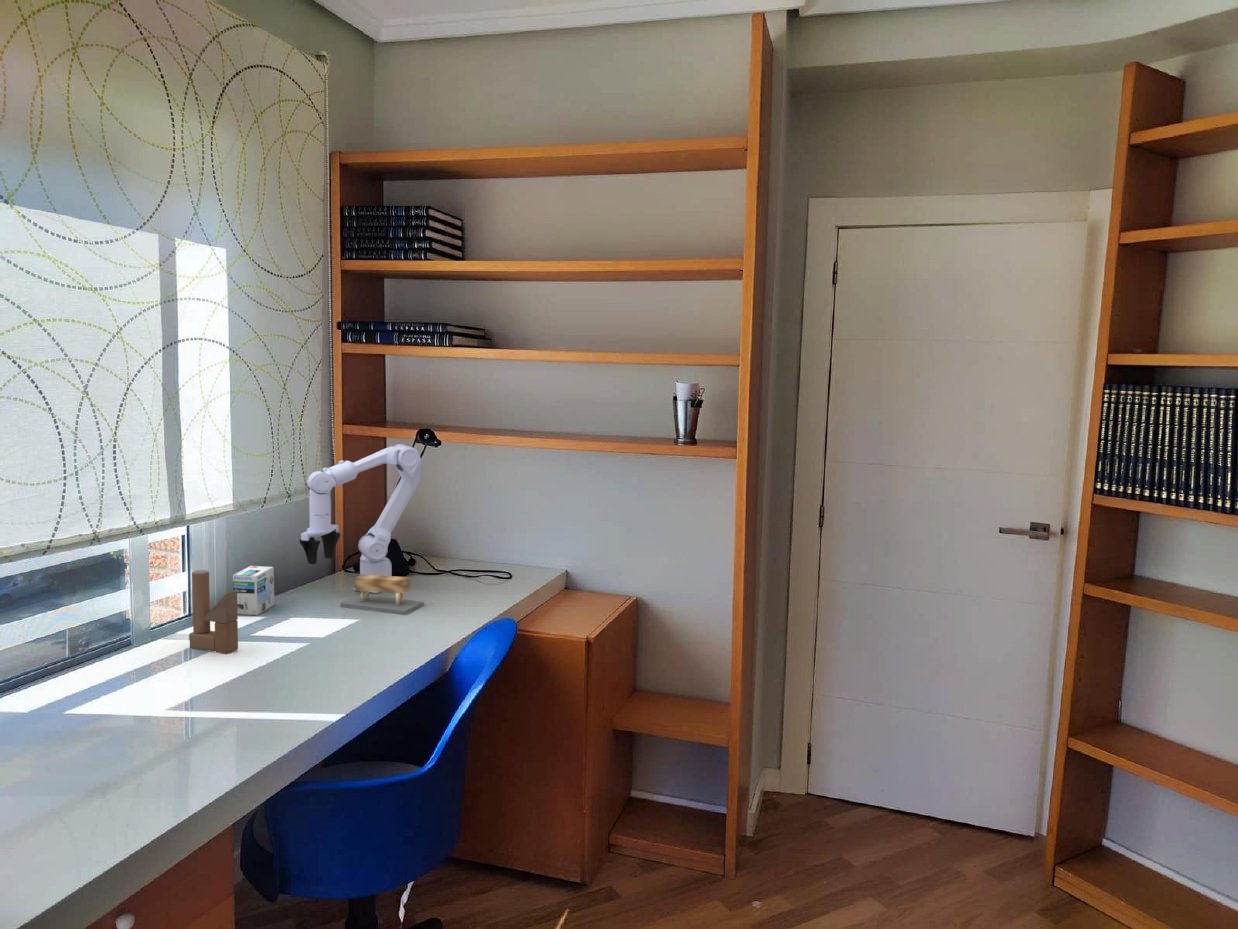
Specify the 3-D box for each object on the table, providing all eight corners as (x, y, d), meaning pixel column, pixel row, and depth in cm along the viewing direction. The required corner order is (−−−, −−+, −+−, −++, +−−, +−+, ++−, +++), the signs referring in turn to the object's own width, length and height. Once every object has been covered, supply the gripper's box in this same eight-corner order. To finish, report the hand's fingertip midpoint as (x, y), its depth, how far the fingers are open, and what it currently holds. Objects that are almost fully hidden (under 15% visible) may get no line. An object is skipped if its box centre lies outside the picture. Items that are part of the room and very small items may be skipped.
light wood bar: (409, 589, 235) (409, 577, 235) (404, 593, 231) (404, 580, 231) (361, 586, 237) (361, 574, 236) (355, 590, 233) (355, 577, 232)
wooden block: (227, 654, 193) (225, 577, 191) (189, 648, 196) (187, 572, 194) (238, 649, 196) (237, 573, 194) (201, 643, 199) (199, 568, 197)
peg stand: (361, 597, 242) (361, 582, 242) (423, 605, 236) (423, 589, 236) (340, 606, 233) (340, 590, 232) (404, 614, 227) (404, 598, 226)
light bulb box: (258, 616, 222) (257, 575, 221) (232, 615, 222) (231, 574, 221) (275, 604, 233) (274, 566, 231) (251, 603, 233) (250, 565, 232)
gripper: (323, 508, 249) (324, 554, 250) (291, 516, 235) (292, 564, 237) (344, 510, 247) (344, 556, 248) (313, 519, 233) (313, 567, 235)
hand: (320, 560), depth 242 cm, fingers open, 7 cm apart
